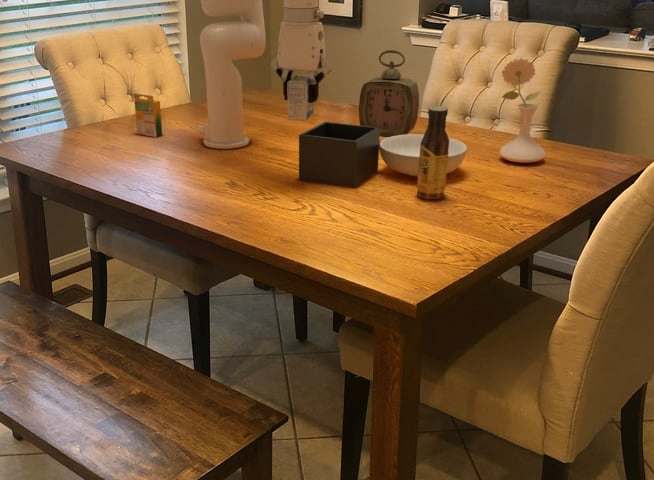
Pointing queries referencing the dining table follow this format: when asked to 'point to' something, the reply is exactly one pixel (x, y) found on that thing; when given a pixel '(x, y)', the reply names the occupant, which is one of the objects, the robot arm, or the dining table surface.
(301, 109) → the medicine box
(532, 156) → the flower in vase
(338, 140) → the open-top storage bin
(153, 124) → the crayon box
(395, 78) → the tabletop clock
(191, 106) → the dining table surface
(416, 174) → the serving bowl
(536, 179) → the dining table surface
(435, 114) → the sauce bottle
